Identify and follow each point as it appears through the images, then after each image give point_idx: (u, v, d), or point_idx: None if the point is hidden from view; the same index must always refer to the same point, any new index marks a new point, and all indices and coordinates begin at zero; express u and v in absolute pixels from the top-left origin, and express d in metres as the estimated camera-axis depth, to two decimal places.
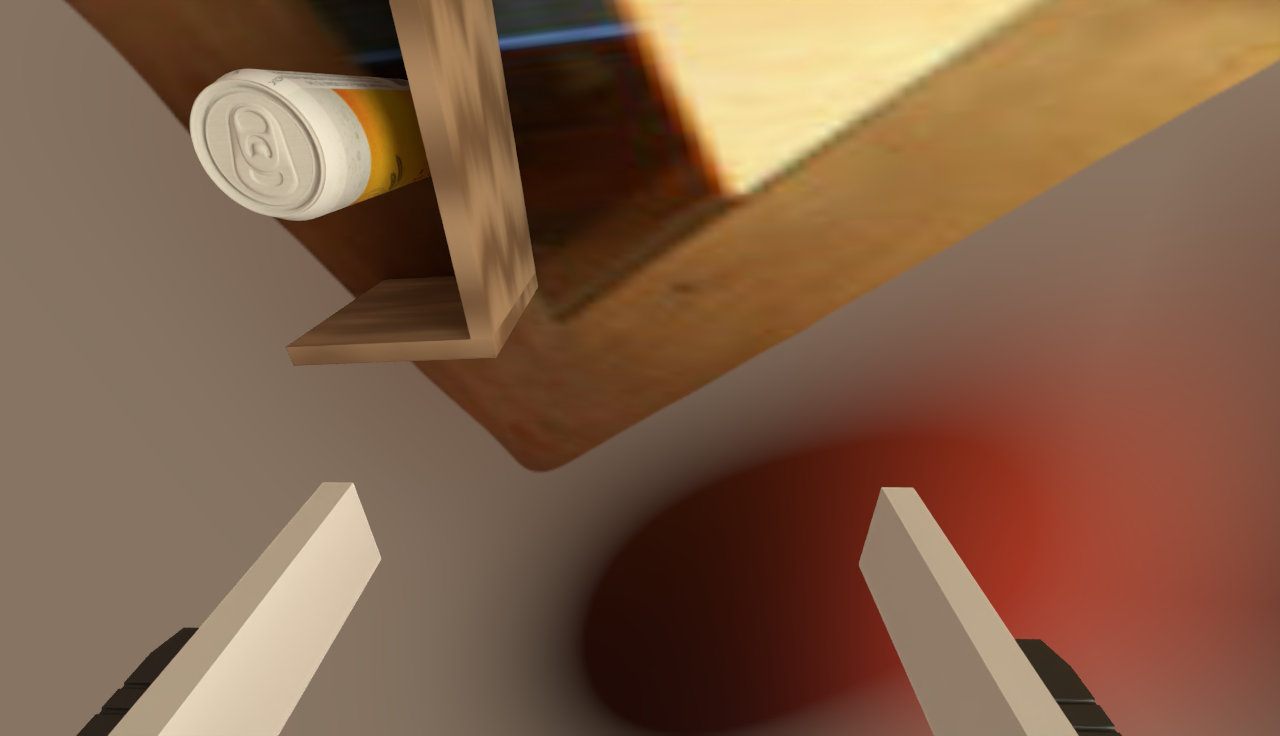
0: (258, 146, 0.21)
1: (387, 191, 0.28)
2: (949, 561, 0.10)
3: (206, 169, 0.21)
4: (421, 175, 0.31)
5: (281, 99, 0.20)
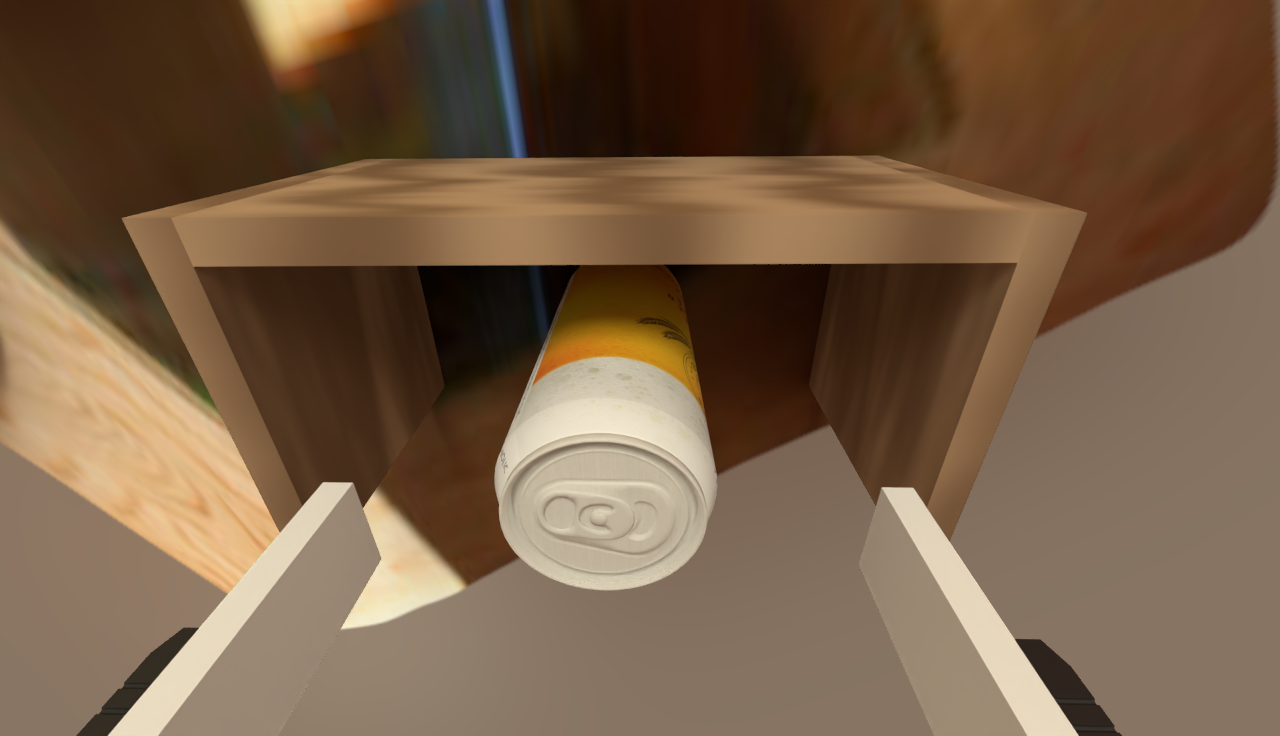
0: (595, 518, 0.13)
1: (691, 349, 0.19)
2: (949, 561, 0.10)
3: (626, 586, 0.14)
4: (676, 299, 0.21)
5: (522, 467, 0.12)
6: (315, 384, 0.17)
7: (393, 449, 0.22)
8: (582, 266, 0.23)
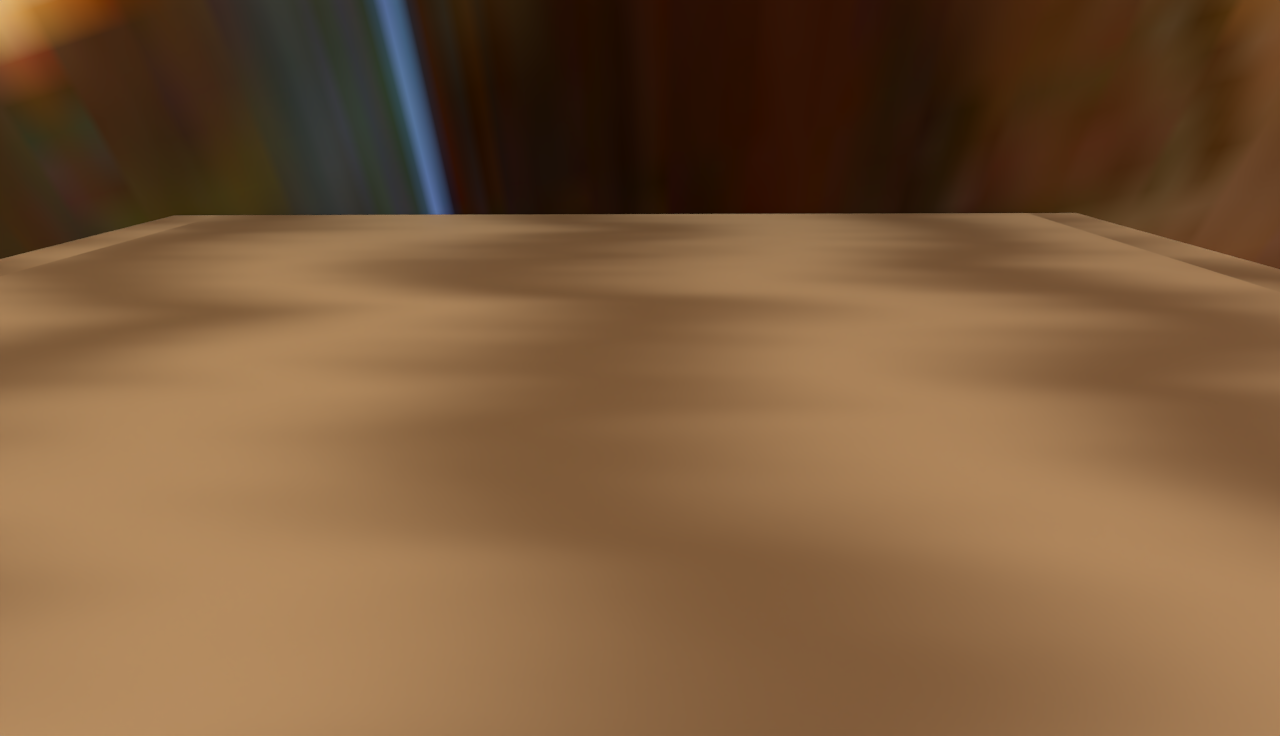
0: None
1: None
2: None
3: None
4: None
5: None
6: None
7: None
8: None
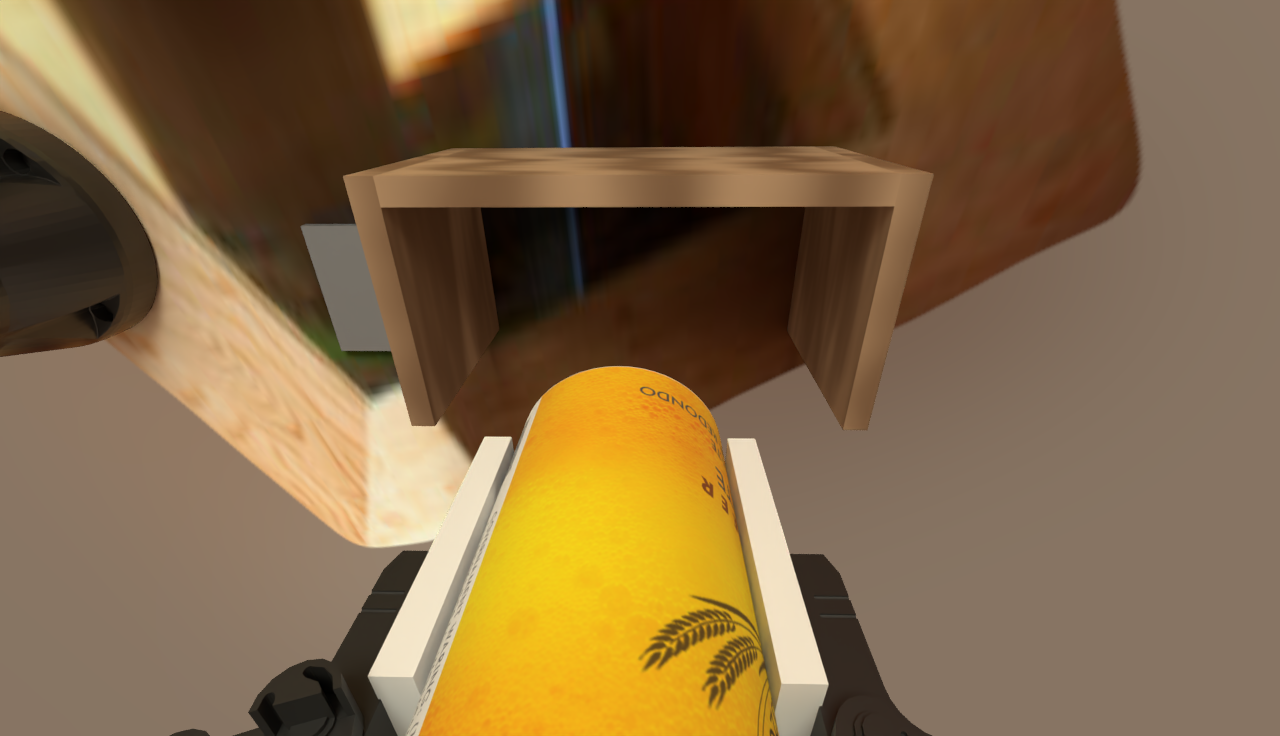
0: None
1: (758, 642, 0.09)
2: (760, 493, 0.12)
3: None
4: (717, 480, 0.11)
5: None
6: (430, 300, 0.25)
7: (469, 364, 0.30)
8: (551, 394, 0.14)
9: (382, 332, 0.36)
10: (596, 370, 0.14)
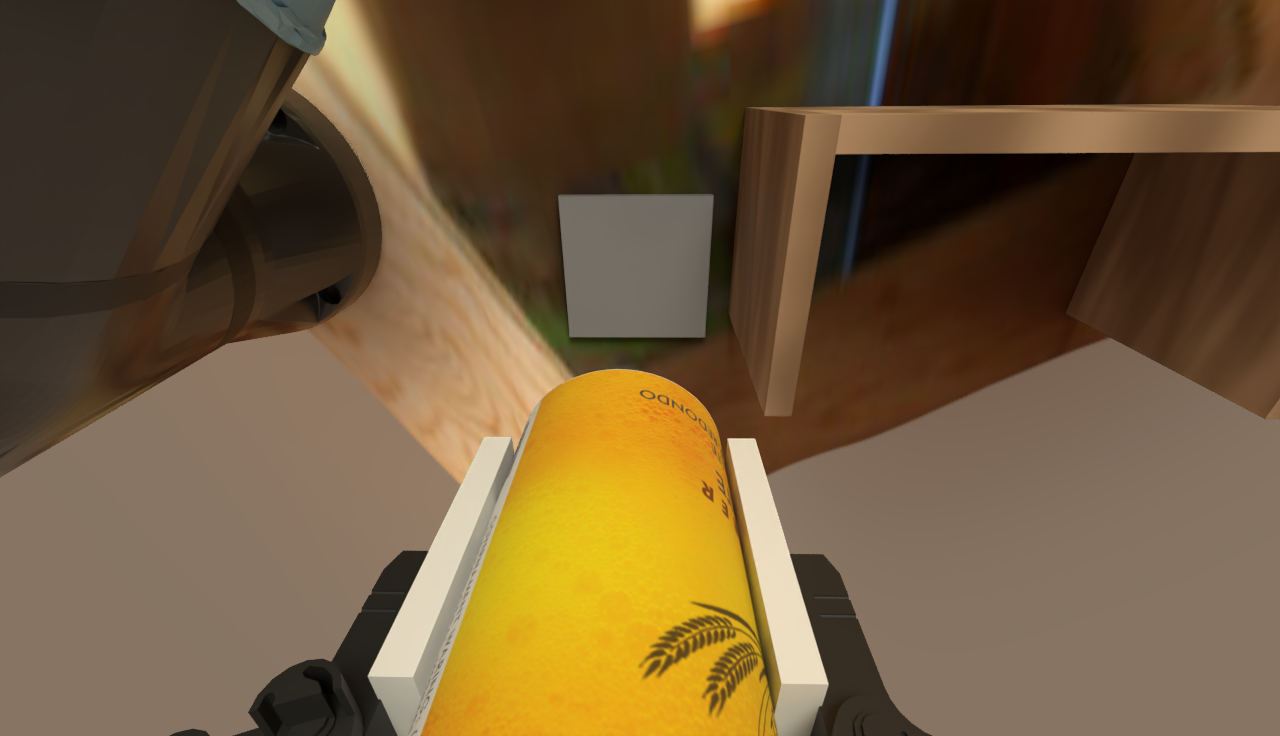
0: None
1: (758, 647, 0.09)
2: (760, 493, 0.12)
3: None
4: (717, 484, 0.11)
5: None
6: None
7: None
8: (551, 398, 0.14)
9: (620, 316, 0.32)
10: (596, 373, 0.14)
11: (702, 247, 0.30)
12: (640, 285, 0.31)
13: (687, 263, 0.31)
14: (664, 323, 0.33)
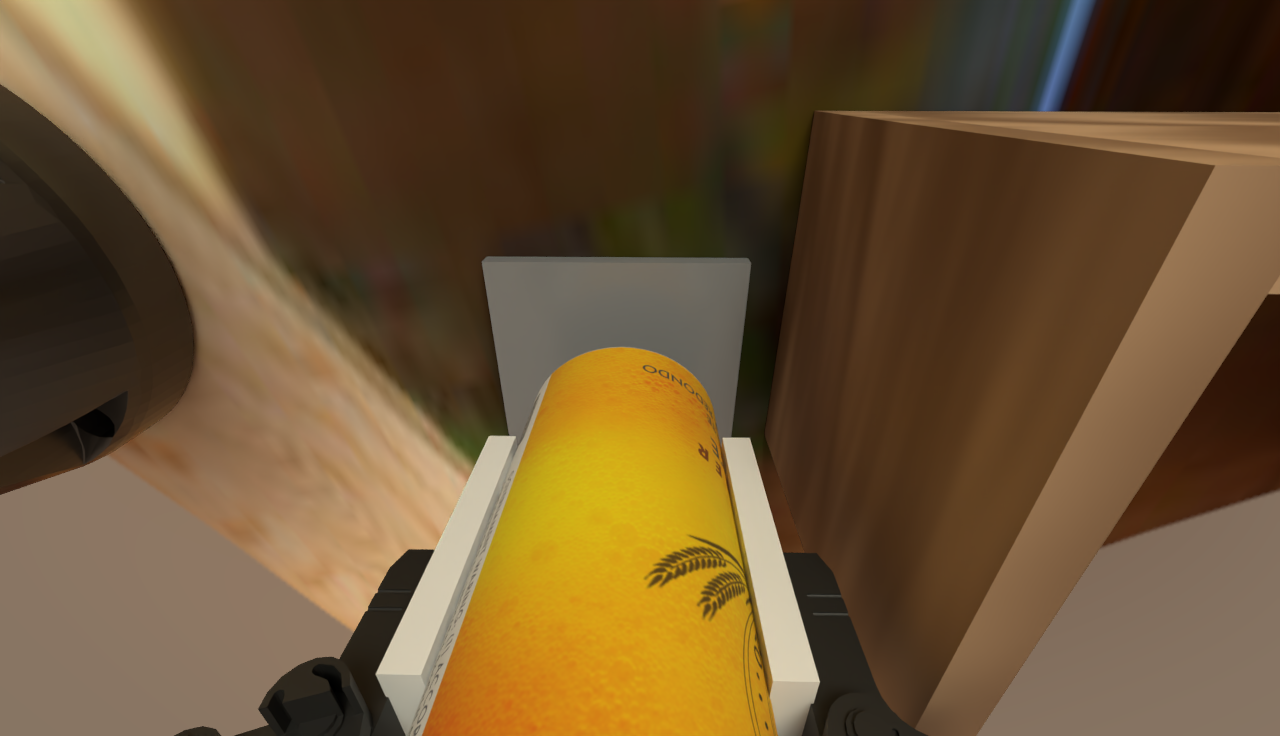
0: None
1: (745, 581, 0.10)
2: (754, 492, 0.12)
3: None
4: (711, 448, 0.13)
5: None
6: None
7: None
8: (560, 372, 0.15)
9: None
10: (602, 350, 0.15)
11: (728, 343, 0.18)
12: None
13: (702, 367, 0.19)
14: None
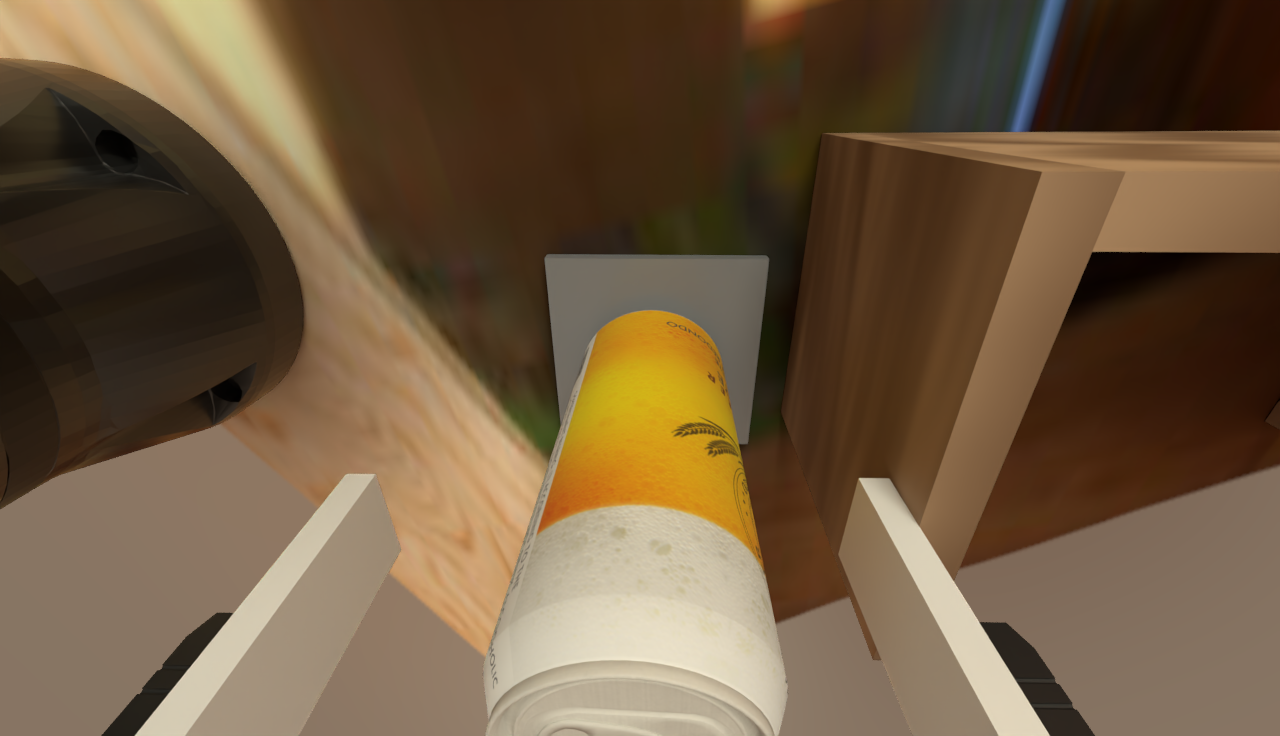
0: None
1: (739, 454, 0.15)
2: (920, 548, 0.10)
3: None
4: (718, 377, 0.17)
5: (515, 700, 0.08)
6: None
7: None
8: (604, 329, 0.20)
9: None
10: (636, 312, 0.20)
11: (749, 328, 0.21)
12: None
13: (726, 349, 0.22)
14: None
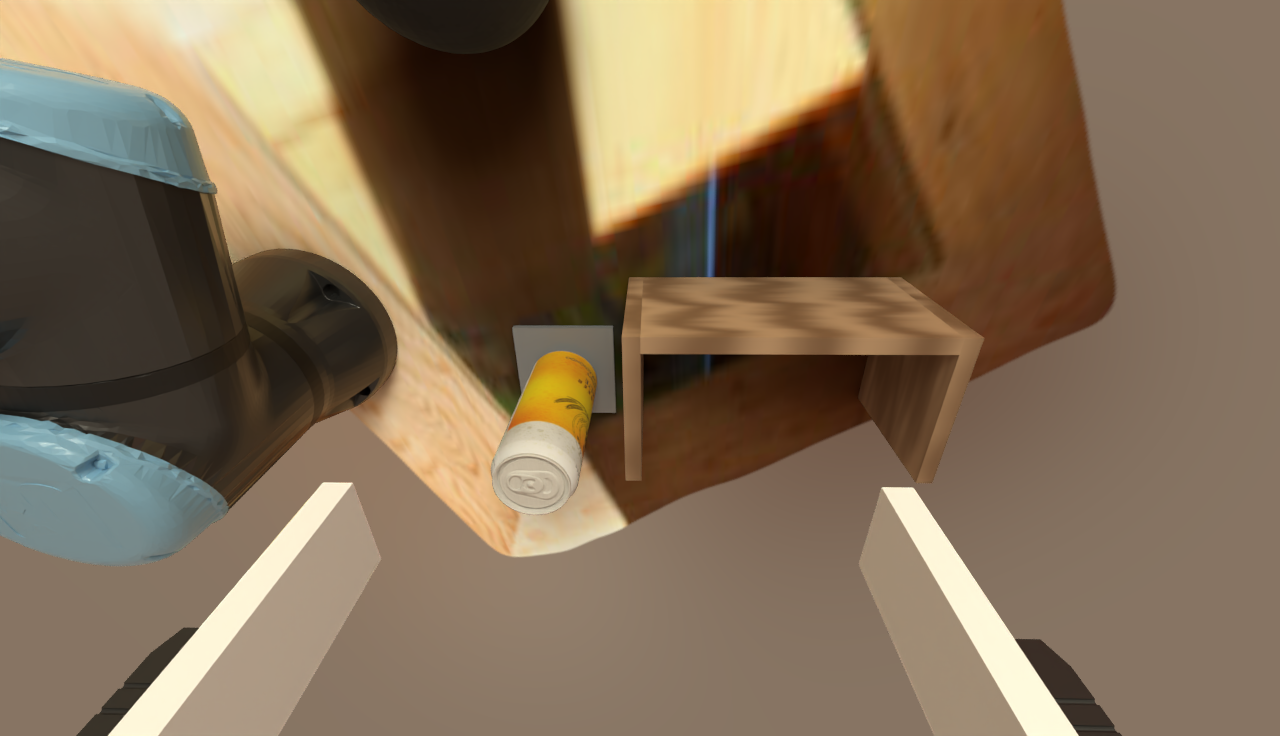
0: (528, 484, 0.34)
1: (584, 410, 0.39)
2: (949, 561, 0.10)
3: (543, 513, 0.35)
4: (584, 381, 0.42)
5: (500, 465, 0.33)
6: (641, 397, 0.37)
7: (642, 430, 0.42)
8: (540, 360, 0.44)
9: None
10: (553, 352, 0.44)
11: (608, 358, 0.46)
12: None
13: (599, 367, 0.46)
14: None
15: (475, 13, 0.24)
